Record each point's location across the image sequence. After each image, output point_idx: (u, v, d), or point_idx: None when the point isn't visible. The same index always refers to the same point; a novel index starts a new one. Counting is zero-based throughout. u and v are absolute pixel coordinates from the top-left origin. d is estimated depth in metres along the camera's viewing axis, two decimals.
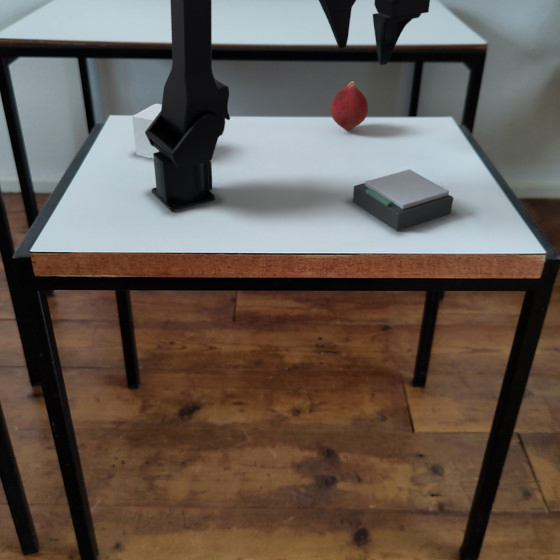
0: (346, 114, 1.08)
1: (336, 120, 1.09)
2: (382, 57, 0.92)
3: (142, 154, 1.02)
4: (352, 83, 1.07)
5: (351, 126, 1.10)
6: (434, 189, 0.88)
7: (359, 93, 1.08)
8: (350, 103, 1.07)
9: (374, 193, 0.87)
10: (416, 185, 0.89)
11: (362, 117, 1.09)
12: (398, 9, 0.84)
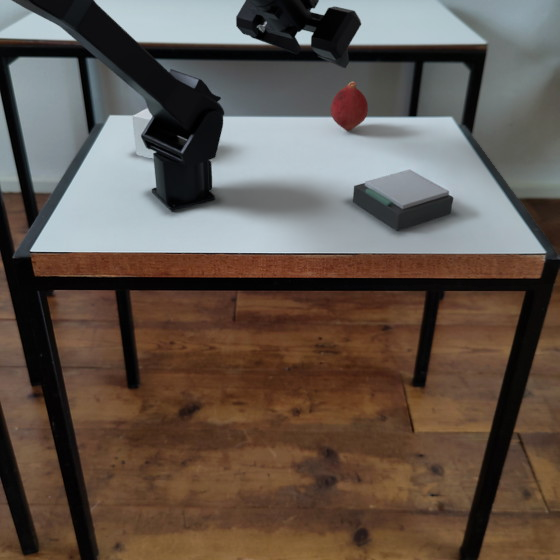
0: (346, 114, 1.08)
1: (336, 120, 1.09)
2: (343, 65, 0.97)
3: (142, 154, 1.02)
4: (352, 83, 1.07)
5: (351, 126, 1.10)
6: (434, 189, 0.88)
7: (359, 93, 1.08)
8: (350, 103, 1.07)
9: (374, 193, 0.87)
10: (416, 185, 0.89)
11: (362, 117, 1.09)
12: (338, 53, 0.88)
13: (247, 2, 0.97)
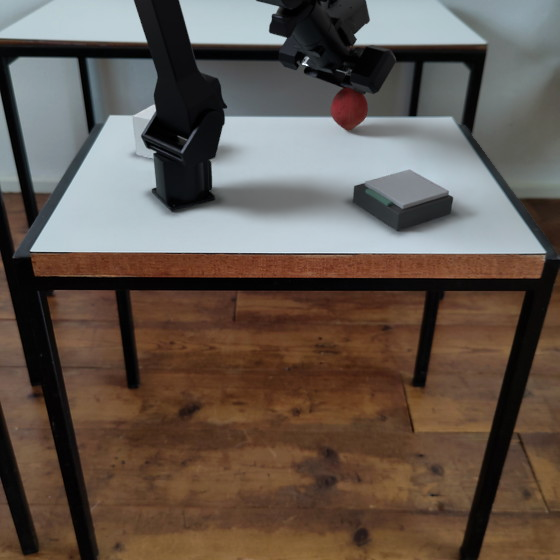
0: (346, 114, 1.08)
1: (336, 120, 1.09)
2: (363, 92, 1.07)
3: (142, 154, 1.02)
4: None
5: (351, 126, 1.10)
6: (434, 189, 0.88)
7: (359, 93, 1.08)
8: (350, 103, 1.07)
9: (374, 193, 0.87)
10: (416, 185, 0.89)
11: (362, 117, 1.09)
12: (376, 88, 0.97)
13: (289, 38, 1.06)
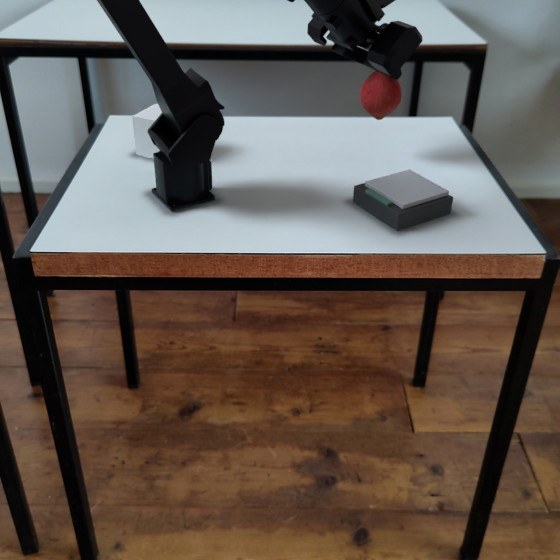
0: (372, 99, 0.96)
1: (363, 106, 0.99)
2: (394, 76, 0.95)
3: (142, 154, 1.02)
4: None
5: (379, 114, 0.98)
6: (434, 189, 0.88)
7: (391, 78, 0.96)
8: (378, 87, 0.96)
9: (374, 193, 0.87)
10: (416, 185, 0.89)
11: (391, 105, 0.97)
12: (392, 68, 0.85)
13: None
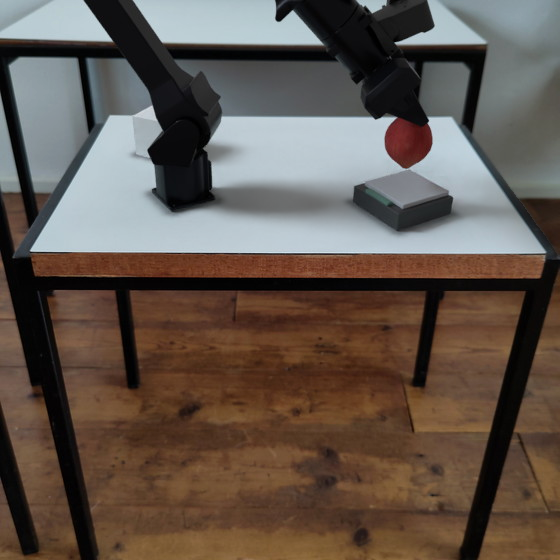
0: (390, 144, 0.84)
1: None
2: (416, 122, 0.81)
3: (142, 154, 1.02)
4: None
5: (400, 162, 0.85)
6: (434, 189, 0.88)
7: None
8: (398, 131, 0.83)
9: (374, 193, 0.87)
10: (416, 185, 0.89)
11: (411, 154, 0.83)
12: (375, 112, 0.73)
13: None
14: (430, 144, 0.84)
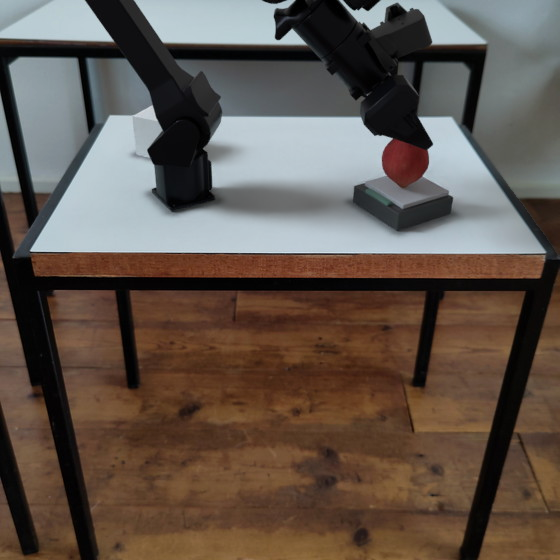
0: (387, 164, 0.85)
1: None
2: (420, 145, 0.80)
3: (142, 154, 1.02)
4: None
5: (397, 181, 0.86)
6: (434, 189, 0.88)
7: None
8: (394, 152, 0.84)
9: (374, 193, 0.87)
10: (416, 185, 0.89)
11: (408, 174, 0.84)
12: (374, 128, 0.74)
13: None
14: (426, 164, 0.85)
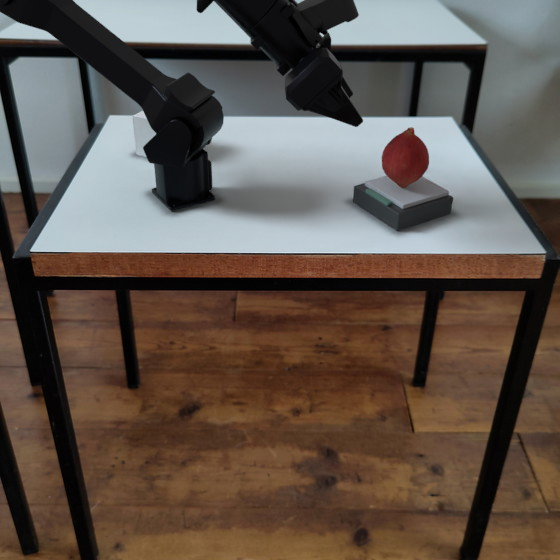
0: (387, 164, 0.85)
1: None
2: (349, 122, 0.78)
3: (142, 154, 1.02)
4: (409, 129, 0.84)
5: (397, 181, 0.86)
6: (434, 189, 0.88)
7: (412, 144, 0.84)
8: (394, 152, 0.84)
9: (374, 193, 0.87)
10: (416, 185, 0.89)
11: (408, 174, 0.84)
12: (296, 103, 0.72)
13: None
14: (426, 164, 0.85)
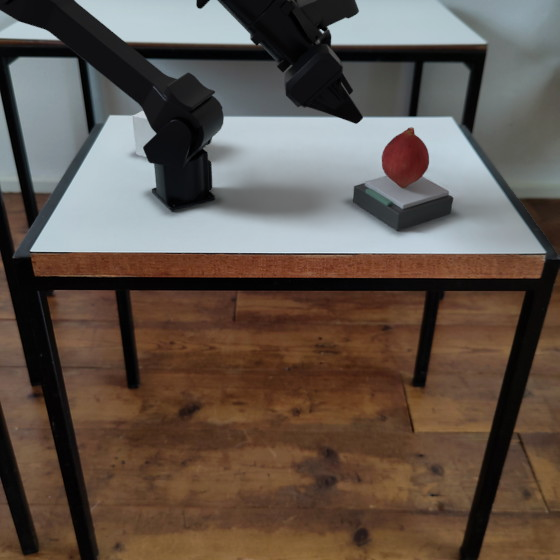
0: (387, 164, 0.85)
1: None
2: (349, 119, 0.78)
3: (142, 154, 1.02)
4: (409, 129, 0.84)
5: (397, 181, 0.86)
6: (434, 189, 0.88)
7: (412, 144, 0.84)
8: (394, 152, 0.84)
9: (374, 193, 0.87)
10: (416, 185, 0.89)
11: (408, 174, 0.84)
12: (296, 99, 0.72)
13: None
14: (426, 164, 0.85)
